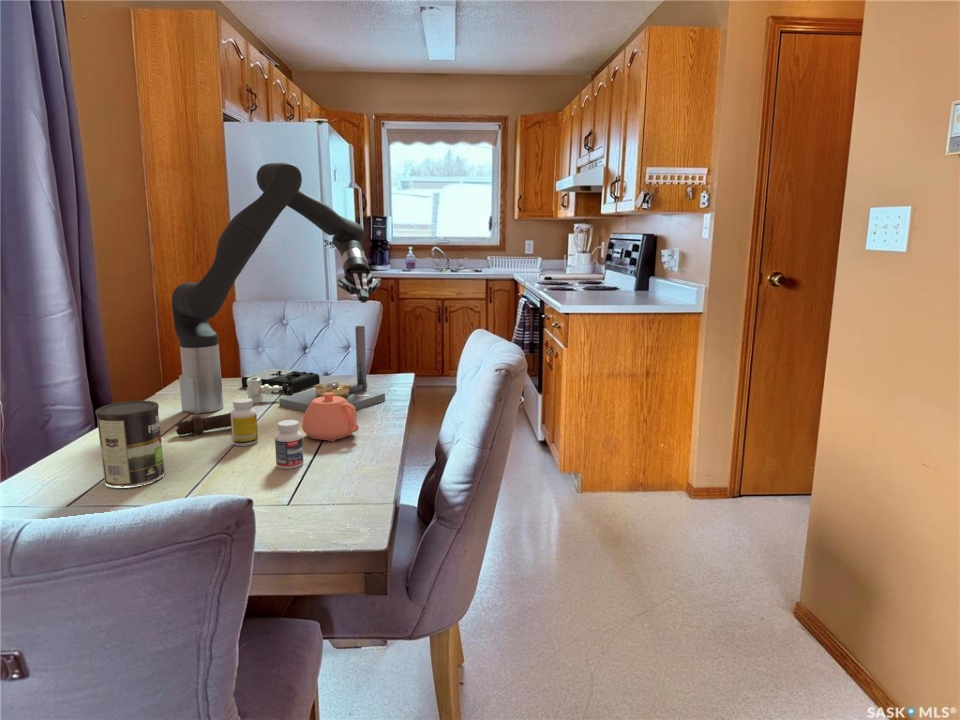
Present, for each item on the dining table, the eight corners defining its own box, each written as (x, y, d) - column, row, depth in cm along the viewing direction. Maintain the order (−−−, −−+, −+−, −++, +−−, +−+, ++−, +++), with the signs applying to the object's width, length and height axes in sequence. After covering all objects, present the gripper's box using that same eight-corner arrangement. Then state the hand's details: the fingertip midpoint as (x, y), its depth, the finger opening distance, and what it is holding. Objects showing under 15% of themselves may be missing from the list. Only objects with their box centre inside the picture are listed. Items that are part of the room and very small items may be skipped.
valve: (248, 405, 172) (294, 401, 177) (246, 382, 171) (292, 378, 175) (246, 399, 178) (291, 395, 182) (245, 377, 177) (289, 373, 181)
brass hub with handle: (327, 400, 168) (324, 333, 164) (309, 394, 174) (306, 329, 171) (375, 391, 179) (373, 327, 175) (356, 385, 185) (354, 324, 181)
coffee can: (169, 466, 127) (162, 398, 124) (159, 486, 117) (152, 412, 115) (111, 471, 124) (103, 402, 121) (97, 492, 114) (87, 416, 112)
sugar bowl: (326, 425, 155) (324, 384, 153) (374, 433, 149) (372, 391, 147) (291, 439, 144) (288, 396, 142) (340, 449, 138) (339, 403, 136)
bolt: (177, 444, 146) (245, 431, 154) (179, 438, 142) (248, 426, 150) (173, 420, 148) (240, 408, 156) (174, 414, 144) (243, 403, 151)
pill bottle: (288, 471, 125) (286, 428, 123) (270, 466, 127) (268, 423, 126) (309, 463, 129) (307, 421, 127) (291, 458, 132) (289, 417, 130)
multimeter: (292, 395, 185) (291, 378, 184) (241, 388, 192) (240, 372, 191) (320, 385, 197) (319, 369, 196) (271, 379, 204) (270, 364, 203)
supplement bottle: (262, 443, 141) (259, 400, 139) (237, 448, 138) (234, 404, 136) (252, 437, 145) (249, 395, 143) (228, 442, 142) (225, 399, 140)
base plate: (333, 417, 161) (333, 408, 161) (279, 405, 172) (279, 397, 171) (385, 400, 178) (384, 392, 177) (333, 390, 188) (333, 383, 188)
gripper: (334, 255, 188) (341, 289, 176) (378, 256, 192) (388, 289, 180) (332, 276, 193) (339, 310, 181) (376, 276, 197) (385, 310, 185)
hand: (364, 300), depth 180 cm, fingers closed
